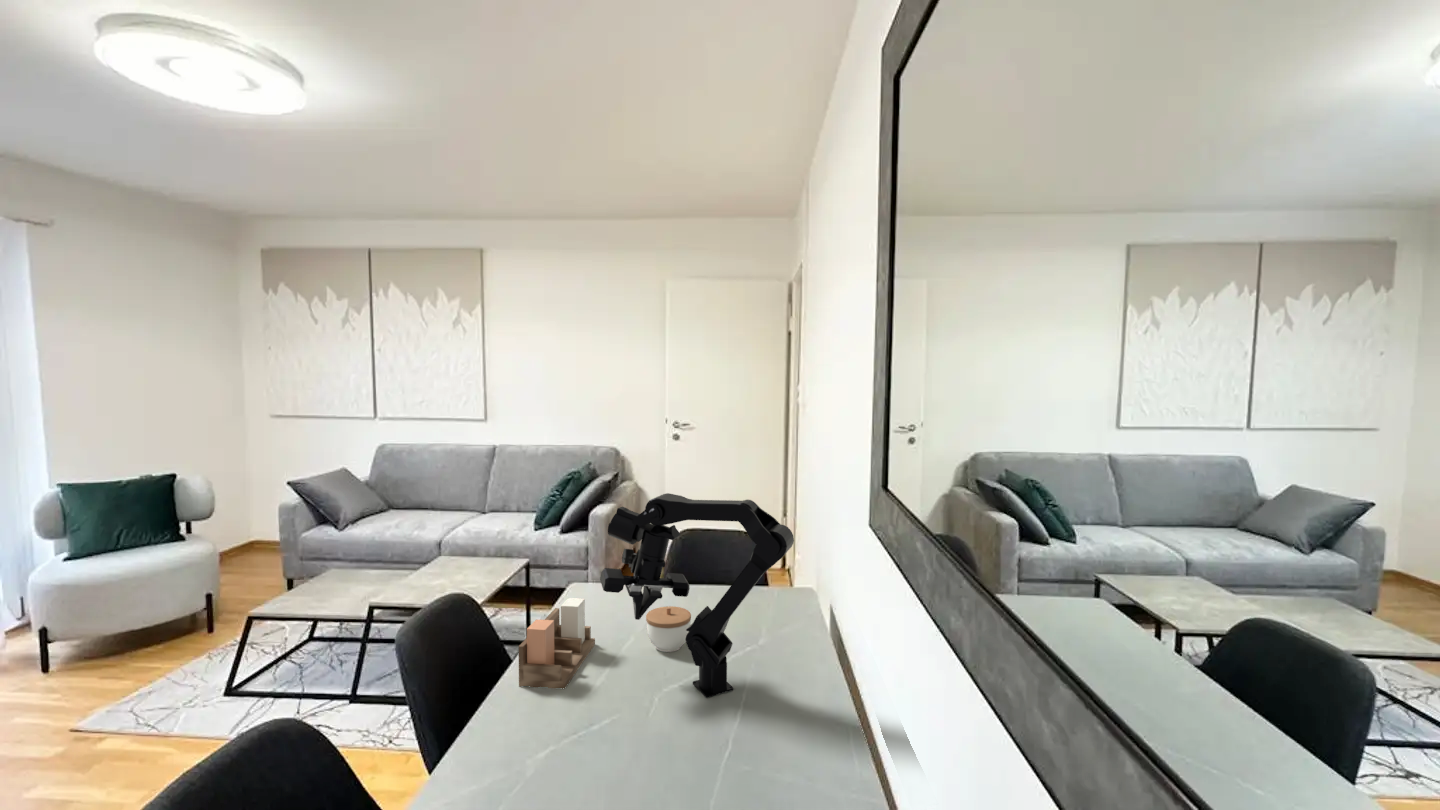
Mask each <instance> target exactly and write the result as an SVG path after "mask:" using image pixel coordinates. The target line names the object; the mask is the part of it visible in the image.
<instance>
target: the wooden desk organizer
mask: <svg viewBox="0 0 1440 810" xmlns="http://www.w3.org/2000/svg"><path fill="white" fill-rule="evenodd" d="M543 620H554V665H549V664H530V663H527V637H526V638H525V639H524V640H523V641H522V642H521V643H520V644H519V645H518V687H521V686H530V687H529V688H538V687H548V688H547V689H556V688H562V690H565V689H566V688H567V687H568V685H569V683H570V682H571V680H572V679H573V677H574V676H575V675H576V673H577V671H578V670H579V669H580V667H581V665H582V664H583V662H584V661H585V660H586V658H587V657H588V655H590V653H591V651H592V650H593V648H594V647H595V645H596V638H595V637H592V636H591V635H592V634H591V632H592V629H591V625H589V626H588V625H585V640H584V642H583V643H582V638H568V637H561V622H560V608H559V607H555V608H554V609H553V610H552V611H551V612H550V613H548V615H547V616H546V617H545V618H544V619H543ZM574 674H575V675H574ZM569 681H570V682H569ZM567 684H568V685H567ZM565 687H566V688H565ZM563 688H564V689H563Z"/></svg>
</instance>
